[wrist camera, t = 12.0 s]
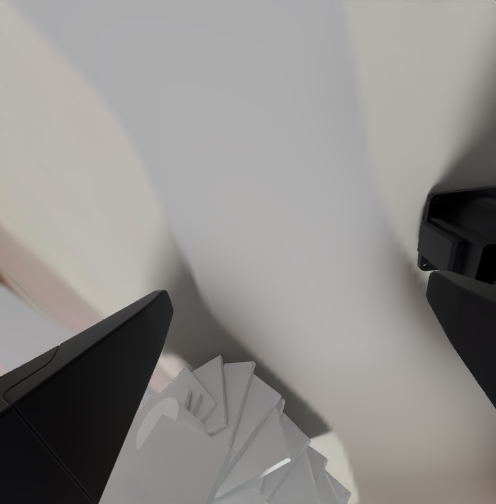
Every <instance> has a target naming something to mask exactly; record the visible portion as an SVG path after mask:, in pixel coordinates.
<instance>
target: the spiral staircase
mask: <svg viewBox="0 0 496 504" xmlns="http://www.w3.org/2000/svg"><path fill="white" fill-rule="evenodd" d="M255 366H256V364H255V362H254V361H252V362H239V363H225V364H224V366H223V357H222V356H221V355H219V356H217V357H216V358H214V359H212V360H211V361H209V362H207V363H206V364H204V365H202V366H201V367H199V368H197V369H196V370H194V371H192V372H190V370H189V369H188V368H187V367H185V368H184V369H183V370H182V371H181V372H180V373H179V374H178V376H177V377H176V378H175V379H174V380H173V381H172V382H171V383H170V384H169V385H168V386H167V387H166V388H165V389H164V391H163V392H162V393H150V394H149V396H148V398H147V399H146V401H145V403H144V404H143V406H142V407H141V409H138V410H137V412H136V415H135V417H134V420H133V422H132V425H131V427H130V429H129V432H128V434H127V437H126V439H125V441H124V444H123V446H122V449H121V451H120V454H119V456H118V458H117V461H116V463H115V466H114V468H113V470H112V473H111V475H110V478H109V480H108V483H107V485H106V487H105V490H104V492H103V495H102V497H101V499H100V502H99V504H347V502H348V500H349V498H350V495H351V493H350V492H349V491H348V490H347V489H346V488H345V487H344V486H342V485H341V484H340V483H339V482H338V481H337V480H336V479H335V478H333V477H332V476H331V475H330V474H329V473H328V472H327V471H326V470H324V469H325V467H326V464H327V462H328V459H327V458H326V457H324V456H323V455H321V454H320V453H318V452H317V451H316V450H314V449H313V448H311V447H310V446H309V444H310V442H311V440H310V439H309V438H308V437H307V436H306V435H305V434H304V433H303V432H302V431H301V430H300V429H299V428H298V427H297V425H296V424H295V423H294V422H293V421H292V420H291V419H290V418H289V417H288V416H287V415H286V414H285V413H284V412H283V409H284V405H285V401H284V399H280V398H281V395H280V394H279V393H278V392H276V391H275V390H274V389H272V388H271V387H270V386H269V385H267V384H266V383H265V382H263V381H262V380H261V379H259V378H258V377H257V376H256V375H254V374H253V372H254V369H255Z"/></svg>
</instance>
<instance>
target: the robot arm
mask: <svg viewBox="0 0 496 504" xmlns="http://www.w3.org/2000/svg"><path fill="white" fill-rule="evenodd" d="M437 197H438V200H437V201H436V202H435V203H434V202H433V201H434V199H435V198H437ZM417 251H418V252H419V257H418V263H417V265H418V267H419V268H420V269H421V270H423V271H432V270H440V271H433V272H431V273H430V276H429V281H428V286H427V292H426V296H427V300H428V302H429V304H430V306H431V307H432V309H433V311H434V313H435V315H436V317H437V319H438V321H439V323H440V324H441V326H442V328H443V330H444V332H445V334H446V336H447V337H448V339H449V341H450V342H451V344H452V345H453V347H454V349H455V350H456V351H457V353H458V355H459V356H460V357H461V359H462V360H463V362H464V363H465V365H466V366H467V368H468V369H469V370H470V372H471V373H472V375H473V376H474V378H475V379H476V381H477V382H478V384H479V385H480V387H481V388H482V389H483V391H484V392H485V394H486V395H487V397H488V398H489V400H490V401H491V403H492V404H493V406H494V407H495V408H496V186H491V187H482V188H473V189H465V190H456V191H447V192H439V193H433V194H431V195H430V196H429V197H428V199H427V203H426V210H425V216H424V221H423V222H422V223H421V229H420V236H419V242H418V249H417ZM425 263H427V265H425V266H423V265H424V264H425ZM172 316H173V307H172V304H171V301H170V298H169V295H168V292H167V291H165V290H157V291H154V292H152V293H150V294H148V295H147V296H145V297H143V298H141V299H139V300H138V301H136V302H134V303H132V304H131V305H129V306H127V307H125V308H123V309H122V310H120V311H118V312H116V313H115V314H113V315H111V316H109V317H108V318H106V319H104V320H102V321H100V322H99V323H97V324H95V325H93V326H92V327H90V328H88V329H86V330H84V331H83V332H81V333H79V334H77V335H76V336H74V337H72V338H70V339H69V340H67V341H65V342H63V343H61V344H60V346H56V347H54V348H52V349H51V350H49V351H47V352H45V353H44V354H42V355H40V356H38V357H36V358H34V359H33V360H31V361H29V362H27V363H25V364H24V365H22V366H20V367H18V368H16V369H14V370H12V371H10V372H8V373H6V374H4V375H3V376H1V377H0V504H99V502H100V499H101V497H102V495H103V492H104V490H105V487H106V485H107V483H108V480H109V478H110V475H111V473H112V470H113V468H114V466H115V463H116V461H117V458H118V456H119V454H120V451H121V449H122V446H123V444H124V441H125V439H126V437H127V434H128V432H129V429H130V427H131V425H132V422H133V420H134V417H135V415H136V412H137V410H138V408H139V405H140V403H141V400H142V398H143V396H144V393H145V391H146V388H147V386H148V383H149V381H150V379H151V376H152V374H153V371H154V369H155V367H156V364H157V362H158V359H159V357H160V354H161V352H162V349H163V346H164V343H165V339H166V336H167V333H168V329H169V326H170V322H171V319H172Z"/></svg>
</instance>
